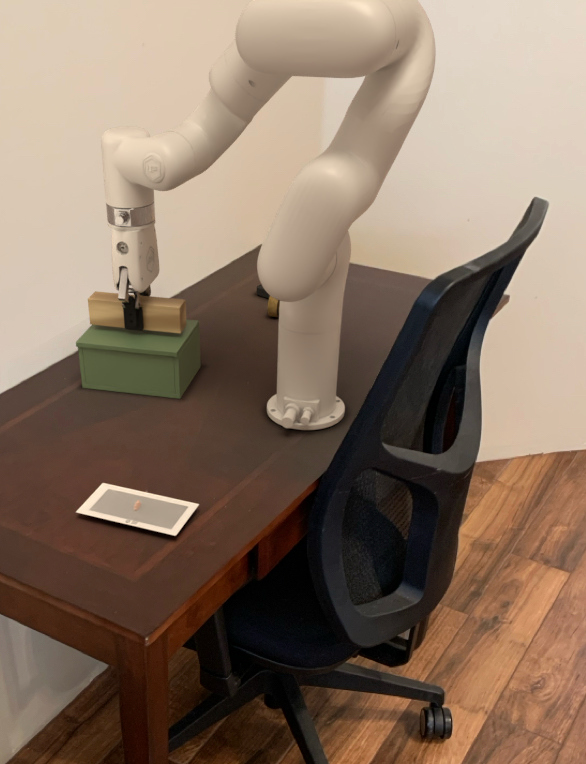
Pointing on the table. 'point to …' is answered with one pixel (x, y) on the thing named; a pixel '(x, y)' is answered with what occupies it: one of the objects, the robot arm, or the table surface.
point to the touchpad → (138, 509)
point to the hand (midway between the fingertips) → (138, 323)
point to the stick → (155, 312)
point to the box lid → (137, 339)
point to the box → (141, 370)
